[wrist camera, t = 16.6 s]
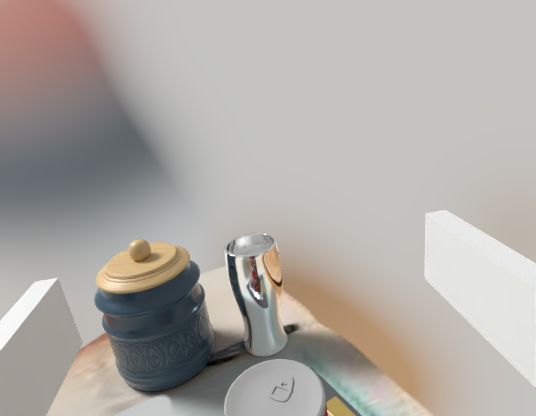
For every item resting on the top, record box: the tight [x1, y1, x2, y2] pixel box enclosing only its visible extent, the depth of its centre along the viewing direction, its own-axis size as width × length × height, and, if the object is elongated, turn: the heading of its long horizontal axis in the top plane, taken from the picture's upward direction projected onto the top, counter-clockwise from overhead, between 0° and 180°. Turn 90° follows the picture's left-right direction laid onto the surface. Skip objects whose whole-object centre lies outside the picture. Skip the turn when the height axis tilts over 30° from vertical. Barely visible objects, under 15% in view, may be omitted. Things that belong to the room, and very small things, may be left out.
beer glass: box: [224, 233, 288, 356], centre depth 49 cm, size 7×7×15 cm
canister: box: [94, 239, 214, 391], centre depth 48 cm, size 13×13×18 cm
